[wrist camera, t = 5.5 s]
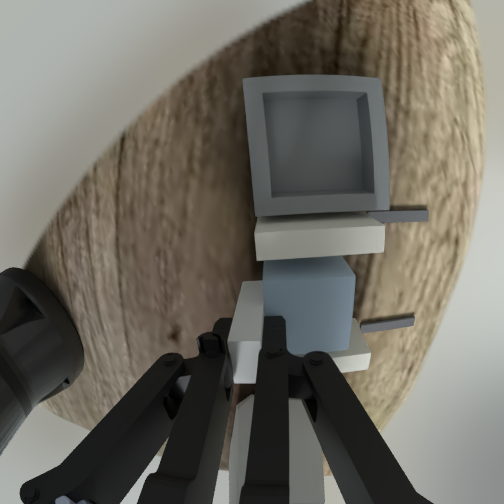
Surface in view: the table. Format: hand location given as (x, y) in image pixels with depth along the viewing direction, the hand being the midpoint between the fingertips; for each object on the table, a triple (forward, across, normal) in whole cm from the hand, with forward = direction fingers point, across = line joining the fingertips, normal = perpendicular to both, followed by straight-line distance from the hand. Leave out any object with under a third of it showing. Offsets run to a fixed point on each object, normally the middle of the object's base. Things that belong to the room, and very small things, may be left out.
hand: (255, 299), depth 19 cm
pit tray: (+2, +4, +10) cm, 11 cm away
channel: (+2, +4, 0) cm, 4 cm away
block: (+2, +3, 0) cm, 4 cm away
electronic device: (+2, 0, -17) cm, 17 cm away
